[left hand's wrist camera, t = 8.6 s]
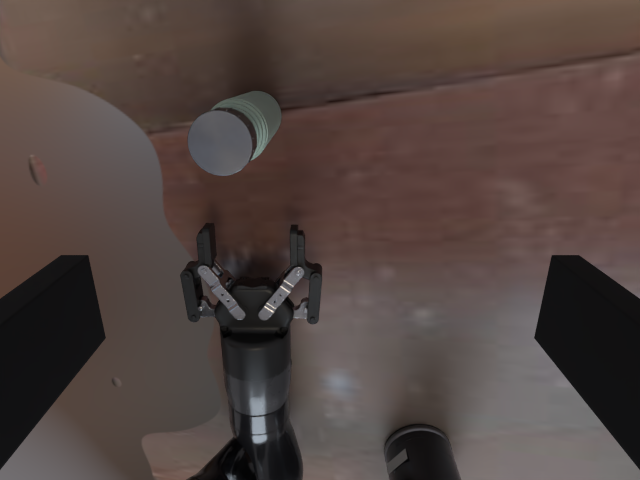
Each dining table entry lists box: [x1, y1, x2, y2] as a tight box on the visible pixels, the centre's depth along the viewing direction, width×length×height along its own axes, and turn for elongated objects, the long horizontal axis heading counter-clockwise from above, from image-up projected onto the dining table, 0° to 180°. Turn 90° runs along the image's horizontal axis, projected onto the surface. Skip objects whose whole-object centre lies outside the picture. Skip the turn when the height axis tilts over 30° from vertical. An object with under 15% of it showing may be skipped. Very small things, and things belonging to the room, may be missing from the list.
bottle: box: [211, 91, 282, 160], centre depth 37 cm, size 5×5×18 cm
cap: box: [188, 107, 257, 176], centre depth 30 cm, size 4×4×2 cm
